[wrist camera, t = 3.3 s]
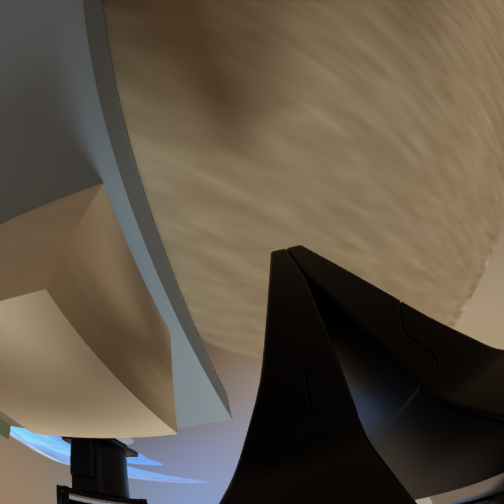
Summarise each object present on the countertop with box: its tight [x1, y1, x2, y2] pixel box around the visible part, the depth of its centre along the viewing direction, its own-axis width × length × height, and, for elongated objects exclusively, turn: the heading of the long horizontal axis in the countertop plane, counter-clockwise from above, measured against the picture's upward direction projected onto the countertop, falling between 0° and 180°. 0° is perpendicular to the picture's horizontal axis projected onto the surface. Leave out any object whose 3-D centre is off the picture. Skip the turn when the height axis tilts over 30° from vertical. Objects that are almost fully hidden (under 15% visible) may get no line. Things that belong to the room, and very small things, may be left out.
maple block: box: [0, 183, 178, 438], centre depth 6 cm, size 6×6×4 cm
